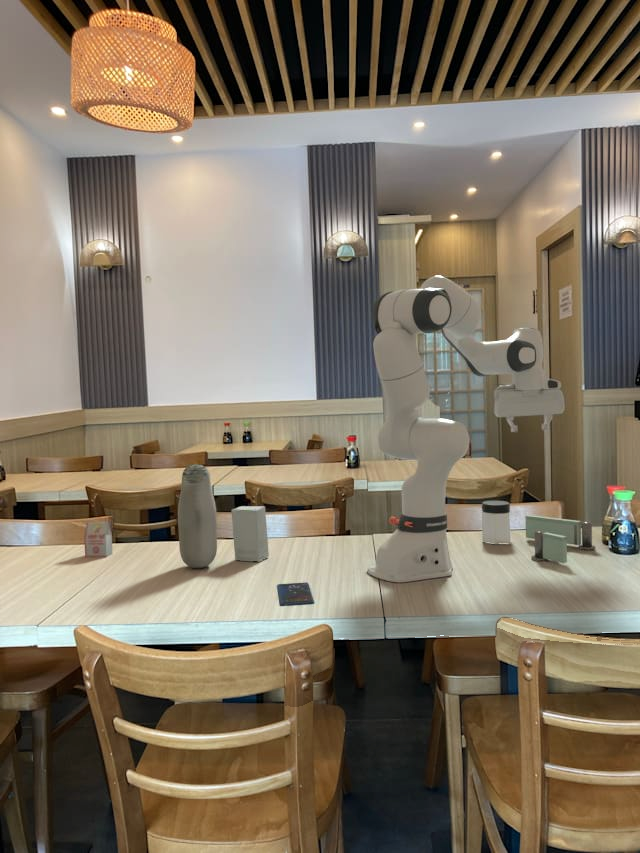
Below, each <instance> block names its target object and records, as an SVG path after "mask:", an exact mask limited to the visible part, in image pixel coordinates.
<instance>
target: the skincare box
mask: <svg viewBox="0 0 640 853" xmlns="http://www.w3.org/2000/svg"><path fill="white" fill-rule="evenodd" d="M231 520H232V535H233V536H232V537H233V547H234V548H233V549H234V551H233V552H234V561H236V560H240V562H253V561H257V562H256V563H259V562H262V561H264V560H266V559H265V558H267V557H268V556H270V554H269V541H268V528H267V513H266V506H264V505H262V506H261V505H260V506H259V505H258V506H255V505H254V506H253V505H252V506H249V505H247V506H246V505H241V506H238V507H235V508H232V509H231ZM268 558H269V557H268ZM268 558H267V559H268ZM263 559H264V560H263ZM261 560H262V561H261Z"/></svg>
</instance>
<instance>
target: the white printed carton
mask: <svg viewBox="0 0 640 853" xmlns="http://www.w3.org/2000/svg"><path fill="white" fill-rule="evenodd" d="M85 524H86V526H85V531H84V536H83V537H84V556H85V558H108V557H110V556H112V555H113V552H114V551H113V536H112V535H113V534H112V531H111V528H110V524H109V521H107V522H106V521H105V522H103V521H100V522H99V521H97V522H95V521H94V522H93V521H88V522H86V523H85Z"/></svg>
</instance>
